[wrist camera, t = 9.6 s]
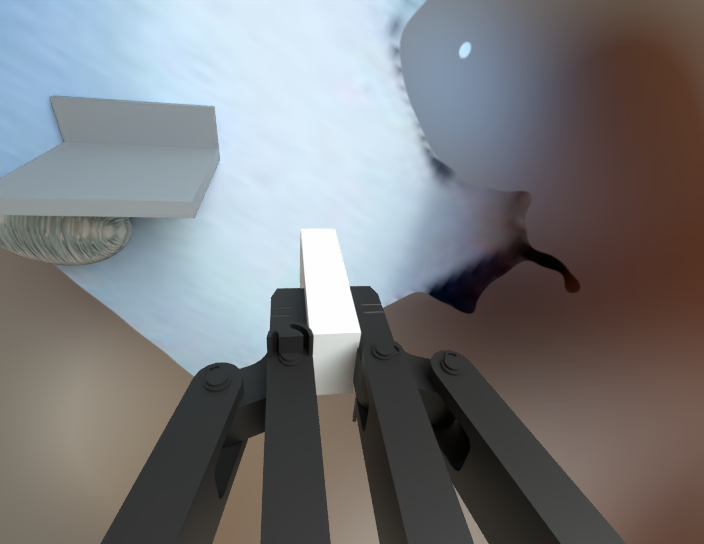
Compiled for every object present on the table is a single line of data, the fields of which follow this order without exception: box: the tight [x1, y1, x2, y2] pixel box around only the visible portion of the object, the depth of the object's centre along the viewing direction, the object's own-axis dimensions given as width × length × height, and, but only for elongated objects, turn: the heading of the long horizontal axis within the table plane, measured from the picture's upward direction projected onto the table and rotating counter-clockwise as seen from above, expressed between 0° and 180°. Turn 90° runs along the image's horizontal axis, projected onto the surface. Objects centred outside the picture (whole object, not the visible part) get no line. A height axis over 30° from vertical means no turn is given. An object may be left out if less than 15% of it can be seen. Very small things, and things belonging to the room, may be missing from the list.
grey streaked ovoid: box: [0, 215, 132, 265], centre depth 43 cm, size 14×10×10 cm
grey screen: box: [0, 96, 220, 218], centre depth 35 cm, size 6×16×16 cm, turn 85°
